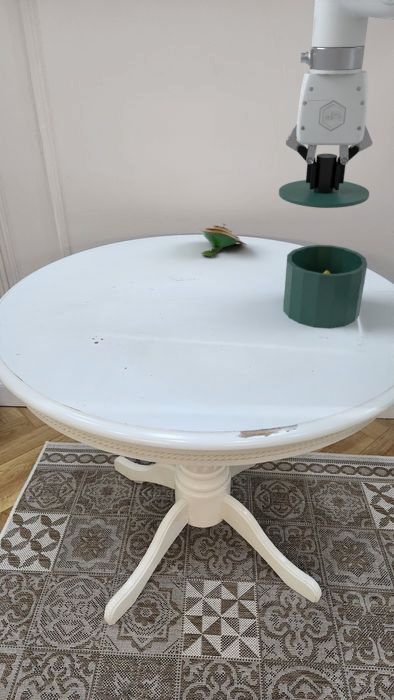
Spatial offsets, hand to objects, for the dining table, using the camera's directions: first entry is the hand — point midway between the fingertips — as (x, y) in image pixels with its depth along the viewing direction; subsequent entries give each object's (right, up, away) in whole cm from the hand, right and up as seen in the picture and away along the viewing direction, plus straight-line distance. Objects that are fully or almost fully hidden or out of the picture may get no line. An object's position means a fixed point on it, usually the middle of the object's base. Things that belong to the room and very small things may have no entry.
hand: (323, 186), depth 88 cm
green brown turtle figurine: (-15, -4, +38) cm, 41 cm away
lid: (0, -1, +1) cm, 1 cm away
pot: (+2, -20, +11) cm, 23 cm away
